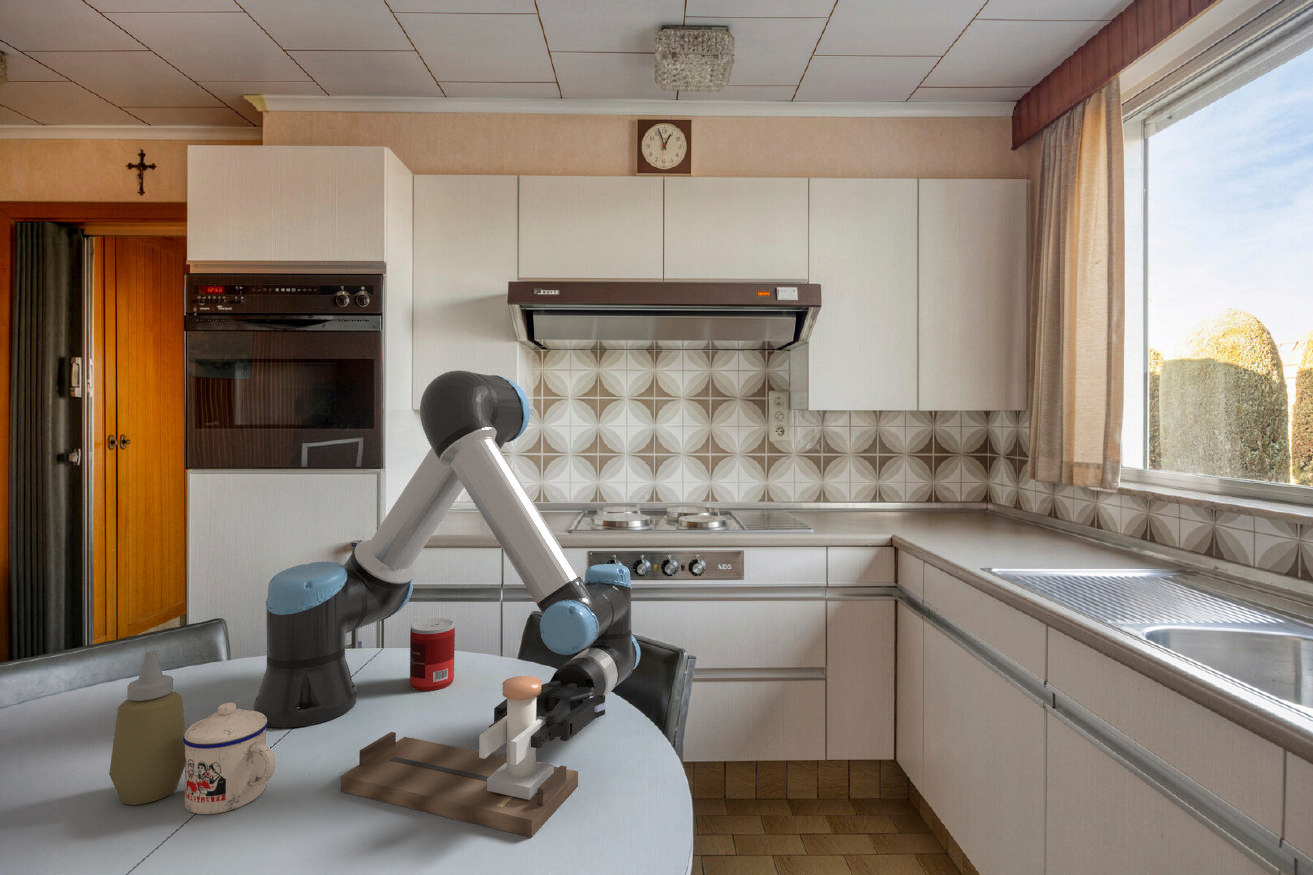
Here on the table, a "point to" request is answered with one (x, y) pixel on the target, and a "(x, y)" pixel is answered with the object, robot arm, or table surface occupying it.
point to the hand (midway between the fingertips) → (497, 749)
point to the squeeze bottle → (148, 737)
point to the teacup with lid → (226, 760)
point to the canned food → (432, 654)
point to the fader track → (452, 784)
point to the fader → (519, 717)
